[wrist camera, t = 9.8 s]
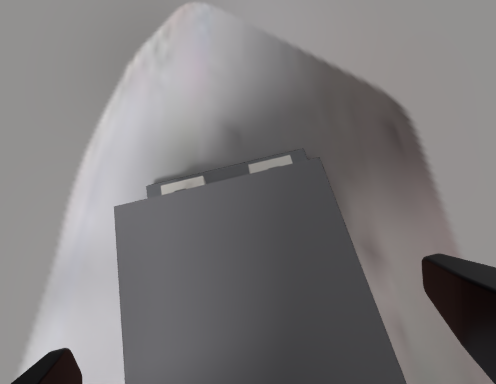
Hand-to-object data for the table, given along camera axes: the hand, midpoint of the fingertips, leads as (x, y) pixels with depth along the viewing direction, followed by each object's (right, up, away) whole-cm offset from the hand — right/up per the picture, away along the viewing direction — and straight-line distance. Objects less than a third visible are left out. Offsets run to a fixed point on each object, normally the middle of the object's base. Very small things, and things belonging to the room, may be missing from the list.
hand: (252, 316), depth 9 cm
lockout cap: (+1, -4, +9) cm, 10 cm away
